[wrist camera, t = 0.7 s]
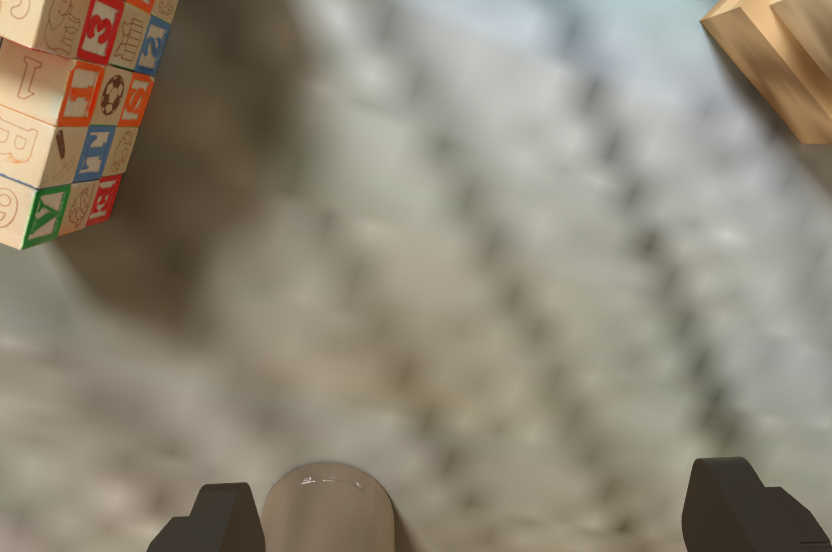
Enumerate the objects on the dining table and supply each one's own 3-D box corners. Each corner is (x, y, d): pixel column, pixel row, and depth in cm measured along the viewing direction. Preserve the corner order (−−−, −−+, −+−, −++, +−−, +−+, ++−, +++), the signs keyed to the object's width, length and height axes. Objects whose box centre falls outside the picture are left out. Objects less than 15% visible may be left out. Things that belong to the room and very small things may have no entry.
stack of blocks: (113, 223, 36) (-26, 269, 24) (10, 182, 36) (-185, 210, 24) (228, -142, 32) (127, -303, 20) (113, -198, 31) (-63, -400, 19)
